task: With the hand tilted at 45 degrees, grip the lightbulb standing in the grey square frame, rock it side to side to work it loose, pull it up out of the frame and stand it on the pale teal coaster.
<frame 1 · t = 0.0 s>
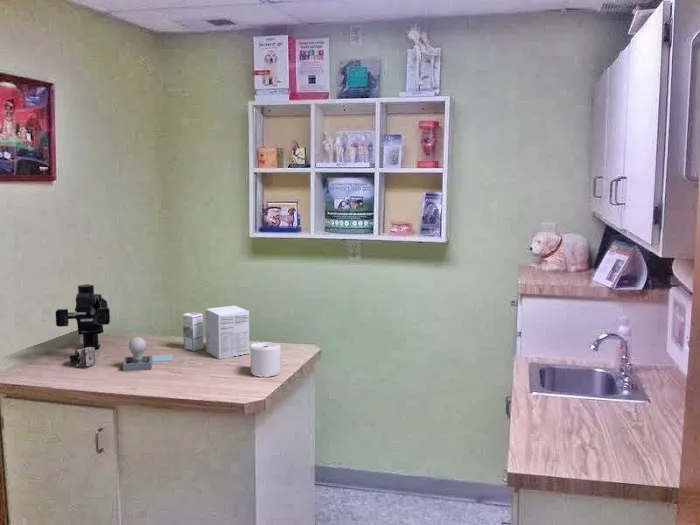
hand: (79, 321, 244), 17 cm above the worktop, tool horizontal, fingers open, 9 cm apart
toilet tissue: (264, 373, 241), on the worktop
supplement box: (227, 353, 266), on the worktop
lightbulb: (138, 367, 247), resting in grey square frame
coaster: (161, 358, 257), on the worktop
grey square frame: (138, 366, 247), on the worktop
caster wheel: (82, 365, 249), on the worktop
syrup box: (193, 349, 272), on the worktop
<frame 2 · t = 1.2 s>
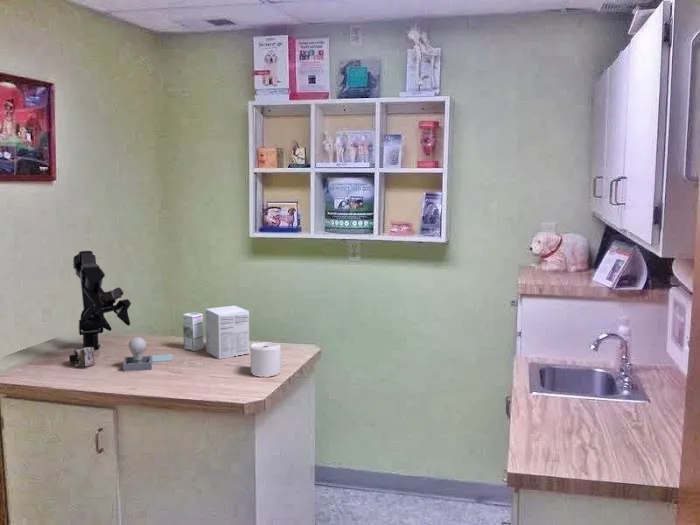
hand: (120, 327, 249), 14 cm above the worktop, tool tilted 45°, fingers open, 9 cm apart
nothing on the worktop moved.
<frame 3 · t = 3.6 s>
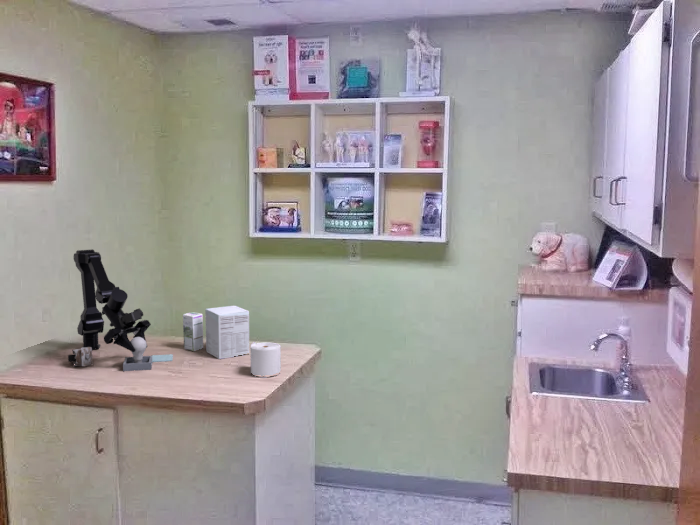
hand: (140, 349, 245), 7 cm above the worktop, tool tilted 45°, fingers closed on lightbulb, 6 cm apart
lightbulb: (138, 367, 247), resting in grey square frame, touching gripper
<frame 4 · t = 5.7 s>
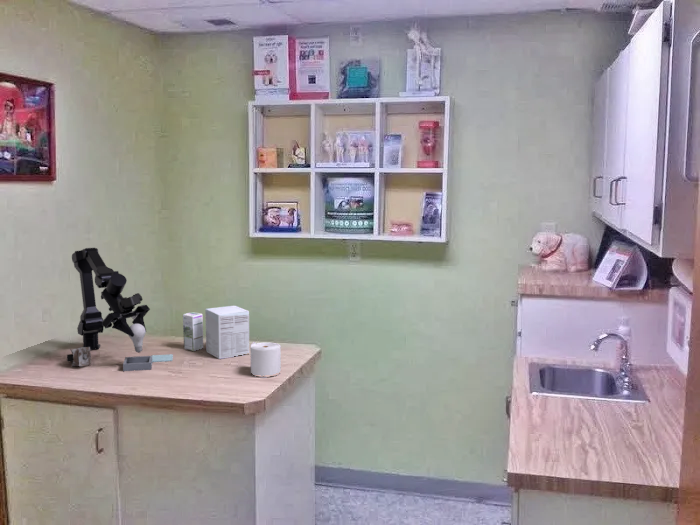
hand: (139, 334, 244), 12 cm above the worktop, tool tilted 45°, fingers closed on lightbulb, 6 cm apart
lightbulb: (139, 353, 247), point 5 cm above the worktop, touching gripper
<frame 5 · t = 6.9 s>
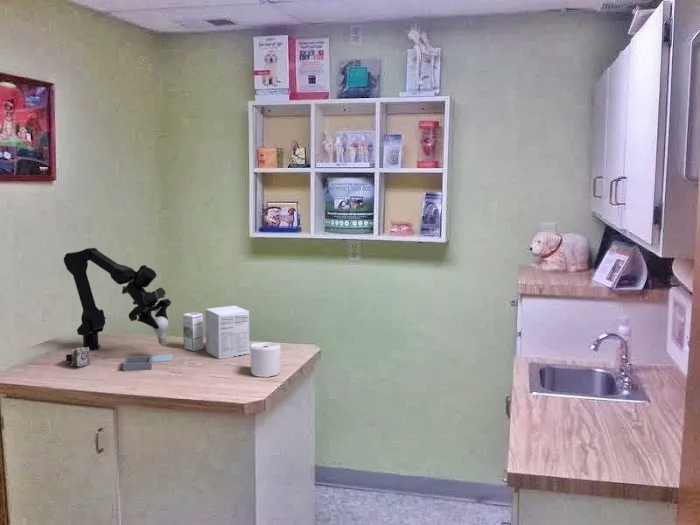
hand: (163, 326, 255), 13 cm above the worktop, tool tilted 45°, fingers closed on lightbulb, 6 cm apart
lightbulb: (162, 344, 258), point 5 cm above the worktop, touching gripper
when the fingers open (8 cm above the worktop, at t = 8.0 s): lightbulb stays where it is, resting on coaster.
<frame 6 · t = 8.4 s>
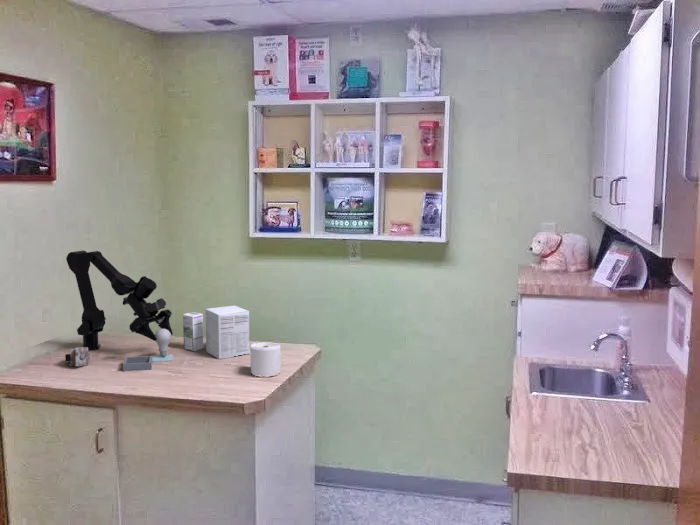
hand: (164, 337, 256), 8 cm above the worktop, tool tilted 45°, fingers open, 9 cm apart
lightbulb: (163, 357, 259), resting on coaster
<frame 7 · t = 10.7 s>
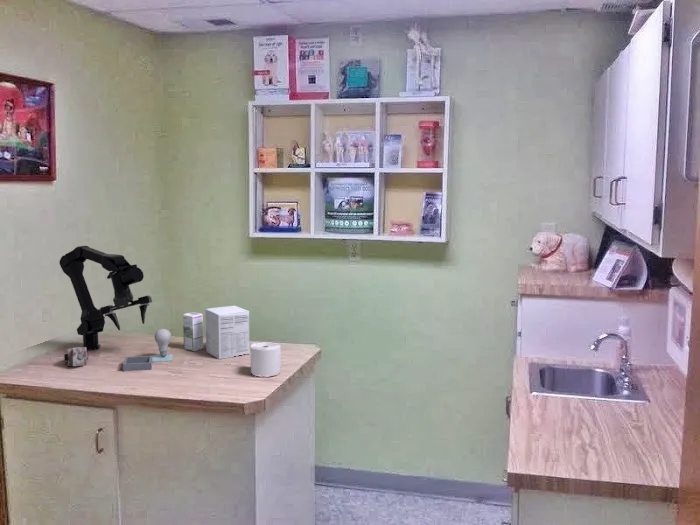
hand: (131, 327, 258), 12 cm above the worktop, tool tilted 20°, fingers open, 9 cm apart
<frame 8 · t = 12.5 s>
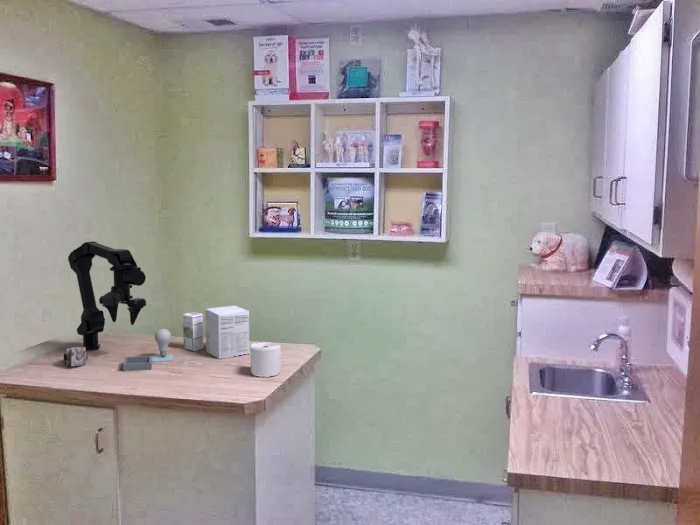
hand: (123, 323, 258), 13 cm above the worktop, tool pointing down, fingers open, 9 cm apart
at the end: lightbulb 1.1 cm from the coaster (horizontally); lightbulb tilted 0°; the gripper is holding nothing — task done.
